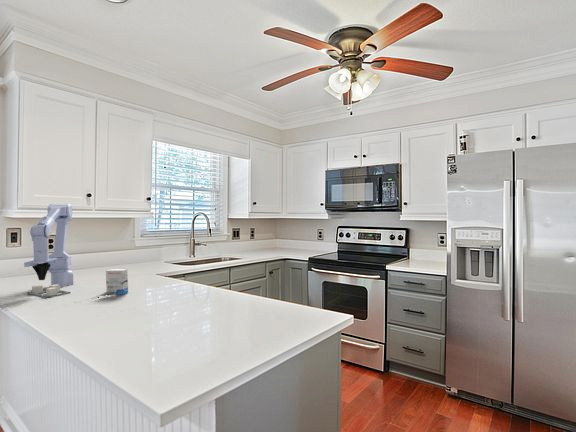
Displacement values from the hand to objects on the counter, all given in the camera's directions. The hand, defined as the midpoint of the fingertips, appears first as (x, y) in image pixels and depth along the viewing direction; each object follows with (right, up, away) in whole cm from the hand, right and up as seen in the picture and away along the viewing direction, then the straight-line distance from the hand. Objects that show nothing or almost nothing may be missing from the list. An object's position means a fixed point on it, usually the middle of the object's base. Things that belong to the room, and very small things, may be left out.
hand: (41, 279), depth 161 cm
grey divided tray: (+1, -8, +3) cm, 9 cm away
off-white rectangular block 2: (+6, -7, -2) cm, 9 cm away
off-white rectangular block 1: (-5, -7, +4) cm, 9 cm away
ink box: (+32, -8, +7) cm, 33 cm away
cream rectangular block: (+3, -7, +5) cm, 9 cm away
